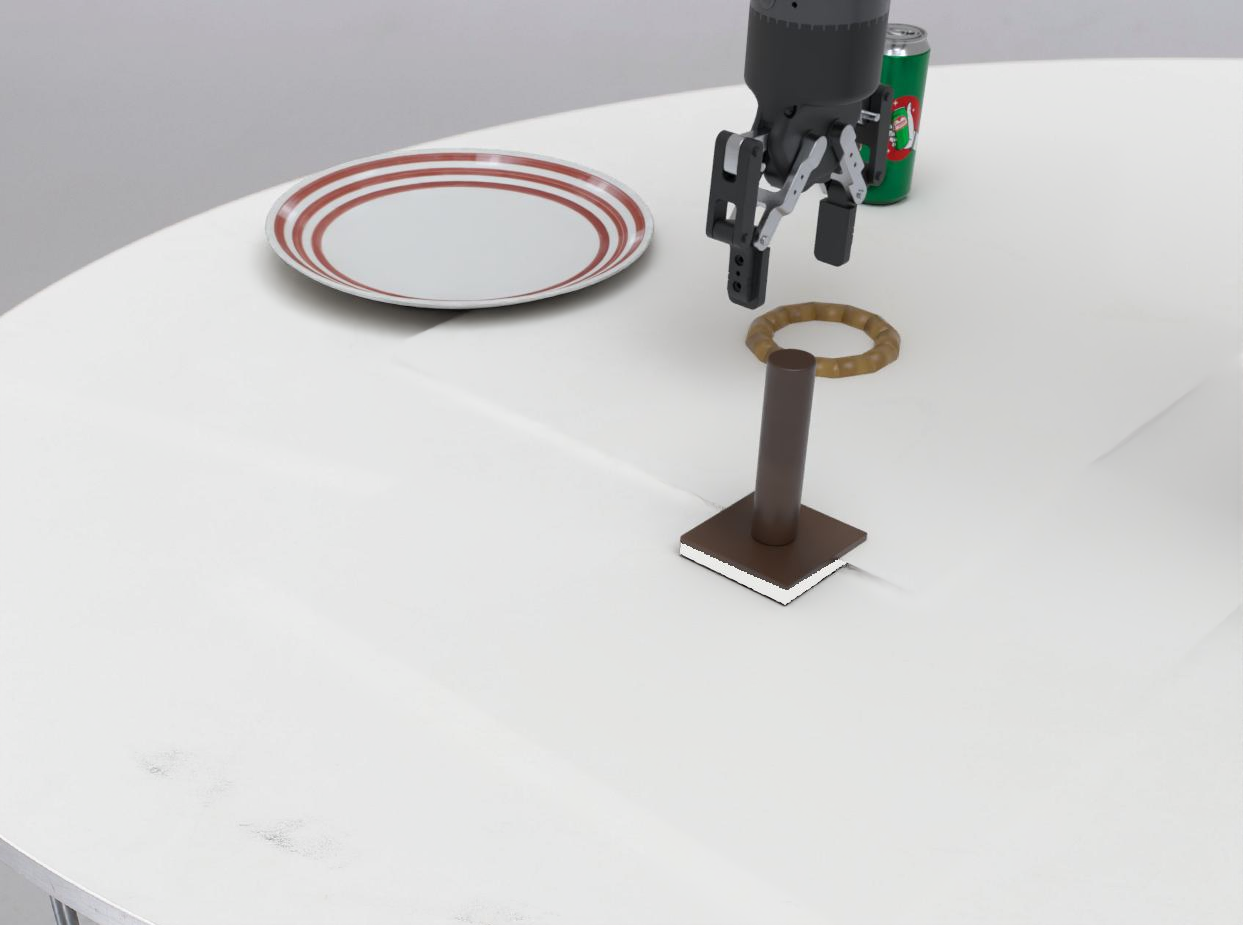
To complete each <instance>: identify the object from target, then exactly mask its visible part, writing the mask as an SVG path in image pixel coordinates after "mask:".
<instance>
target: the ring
mask: <svg viewBox="0 0 1243 925" xmlns="http://www.w3.org/2000/svg"><path fill="white" fill-rule="evenodd" d="M813 321H818V322H829V323H838V324H839V323H840V324H844V325H846V326H849V327H852V328H855V329H857V330H860V331H862V332H864V333H865V334H866V335H867V336H868V337H869V338H870V339H871V340H872V341H873V342H874V344H873V347H871V348H870V349H869V350H866V351H865V352H863V353H861V354H855V355H848V356H847V355H846V356H840V357H834V358H833V357H826V356H825V357H824V356H815V358H816V360H817V365H816V374H815V378H825V379H842V378H849V377H856V376H862V375H870V374H874V373H877V372H878V371H880V370H882V369H883V368H885V367H887V366H889V365H890V364H892V363H894V362H895V361H897V360H898V359H899V354H900V348H901V341H902V338H901V335H900V333H899V332H898V330H896V329H895V327H893V326H892V325H891V324H890V323H889V322H888V321H887V320H886V319H884V317H883V316H881V315H879V314H877V313H874V312H871V311H868V310H865V309H862V308H859V307H857V306H853V305H851V304H846V303H845V304H844V303H833V302H823V301H807V302H806V301H805V302H800V303H792V304H787V305H786V304H785V305H779V306H777V307H775V308H772V309H771V310H769V311H767V312H765V313H763V314H761V315H760V316H757V317H756V318H754V319H753V321H752V322H751V323H750V325H749V326H750V327H749V329H748V333H747V335H746V339H745V346H746V347H747V348H748V349H749V351H751V352H752V354H753V355H754V356H755V357H756V358H757V359H758V360H759V362H761V363H763V364H766V365H767V358H768V356H769V355H770V354H771V353H772V352H774V351H777V350H781V349H785V347H781V346H780V345H778V343H776V342H775V340H774V335H775V333H776V332H777V331H779V330H781V329H784V328H785V327H787V326H789V325H791V324H797V323H798V324H799V323H806V322H813Z"/></svg>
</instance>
